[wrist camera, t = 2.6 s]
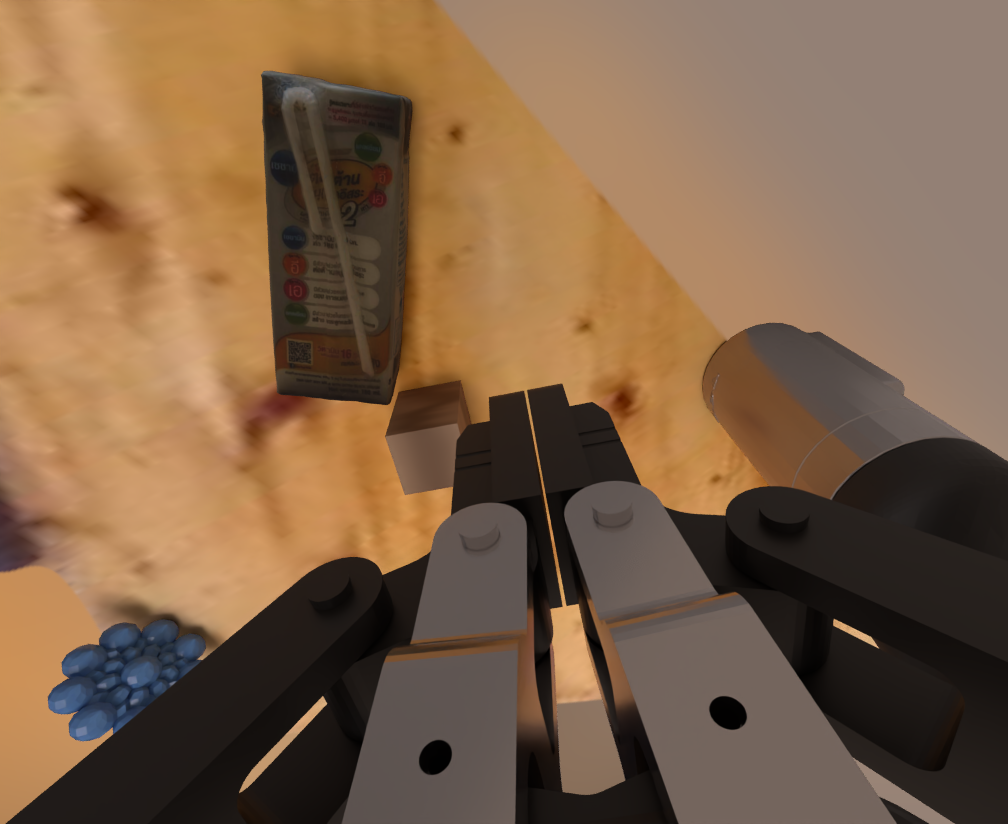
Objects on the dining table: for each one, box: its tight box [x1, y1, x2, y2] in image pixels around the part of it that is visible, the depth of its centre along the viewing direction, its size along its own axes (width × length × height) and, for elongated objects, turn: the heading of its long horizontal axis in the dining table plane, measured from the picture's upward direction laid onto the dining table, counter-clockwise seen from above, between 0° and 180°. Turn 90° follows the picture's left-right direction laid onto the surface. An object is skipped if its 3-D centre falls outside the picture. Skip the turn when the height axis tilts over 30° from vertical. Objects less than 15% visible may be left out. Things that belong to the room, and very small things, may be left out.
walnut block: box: [385, 380, 471, 495], centre depth 41 cm, size 5×5×7 cm
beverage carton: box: [261, 71, 412, 405], centre depth 35 cm, size 8×19×7 cm, turn 172°
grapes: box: [48, 619, 206, 741], centre depth 49 cm, size 12×7×12 cm, turn 52°
